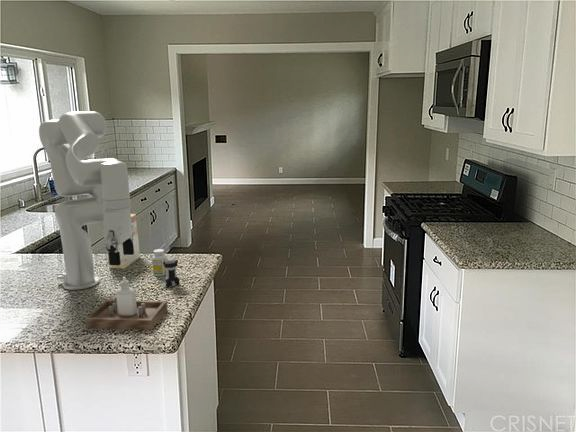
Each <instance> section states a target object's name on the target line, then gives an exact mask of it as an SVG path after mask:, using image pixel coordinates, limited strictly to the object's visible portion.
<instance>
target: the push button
mask: <svg viewBox="0 0 576 432" xmlns="http://www.w3.org/2000/svg"><path fill="white" fill-rule="evenodd" d="M178 263H179V260H177V259H176V258H175V257H166V259H165V261H164V262H163V264H164V267H166V275H165V276H166V277H165V279H164V282H163V283H160V284H161V287H167V288H171V287H176V286H179V285H180V278H179V277H178V275H177V266H178Z"/></svg>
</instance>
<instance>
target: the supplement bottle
mask: <svg viewBox="0 0 576 432" xmlns="http://www.w3.org/2000/svg"><path fill="white" fill-rule="evenodd" d="M165 259H167V255H166V254H165V250H164V249H162V248H157V249H154V250H153V256H152V258H151V261H152V273H153V275H154V276H155V277H162V276H166V267H164V264H163V262H164V261H165Z"/></svg>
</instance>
